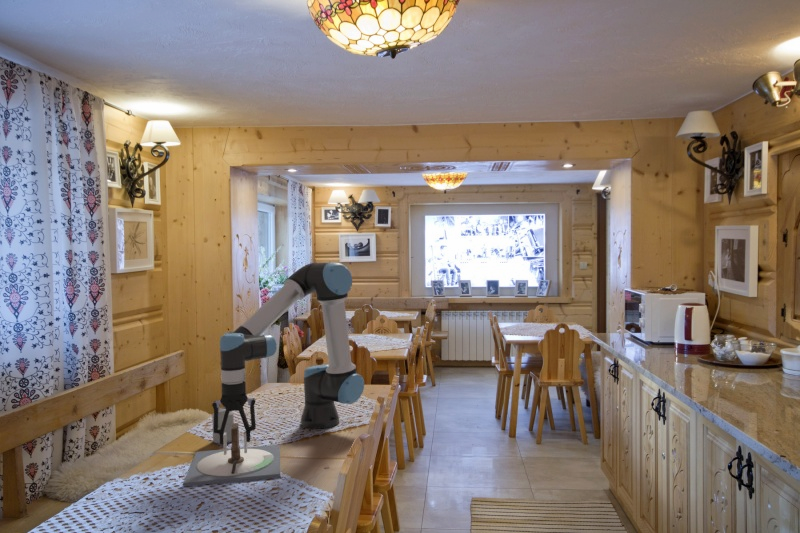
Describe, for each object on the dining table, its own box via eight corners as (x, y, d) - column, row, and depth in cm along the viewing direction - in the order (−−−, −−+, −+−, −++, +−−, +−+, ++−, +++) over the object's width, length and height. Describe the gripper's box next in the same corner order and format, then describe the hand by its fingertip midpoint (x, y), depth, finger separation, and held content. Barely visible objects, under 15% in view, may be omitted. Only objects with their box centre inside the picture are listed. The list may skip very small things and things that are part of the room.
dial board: (279, 447, 211) (279, 443, 211) (280, 477, 184) (280, 472, 184) (196, 455, 206) (196, 450, 206) (184, 486, 178) (184, 481, 178)
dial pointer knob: (244, 456, 198) (243, 422, 198) (241, 474, 183) (240, 437, 182) (228, 458, 197) (227, 423, 197) (224, 476, 182) (223, 439, 181)
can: (228, 445, 215) (227, 412, 215) (209, 444, 217) (208, 411, 216) (238, 438, 223) (237, 406, 222) (219, 437, 224) (218, 406, 224)
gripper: (263, 377, 200) (265, 446, 200) (204, 381, 196) (206, 451, 197) (262, 382, 192) (264, 453, 193) (201, 386, 188) (204, 459, 189)
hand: (235, 452), depth 195 cm, fingers open, 6 cm apart
